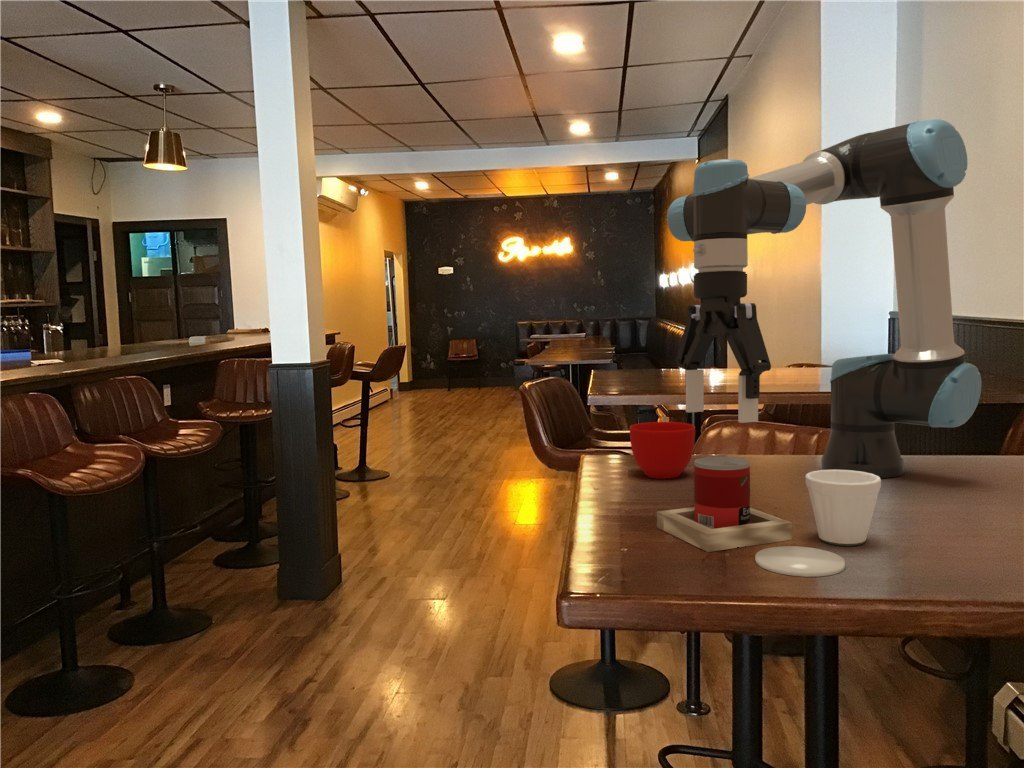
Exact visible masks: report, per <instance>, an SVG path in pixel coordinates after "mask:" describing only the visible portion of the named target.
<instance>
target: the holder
mask: <svg viewBox="0 0 1024 768" xmlns="http://www.w3.org/2000/svg"><path fill="white" fill-rule="evenodd" d="M656 528H657V529H659V530H661V531H662V532H663V531H664V532H665V533H668V534H670V535H672V536H674V537H676V538H678V539H679V540H682V541H684V542H686V543H689V544H690V545H693V546H694V547H697V548H699V549H700V550H703V551H704V552H706V553H710V552H711V553H712V552H718V551H723V550H731V549H738V548H737V547H739V548H745V546H746V547H753V546H760V545H765V544H773V543H780V542H786V541H792V540H793V522H792V521H788V520H785V519H783V518H781V517H780V518H779V517H777V516H774V515H772V514H768V513H766V512H763V511H760V510H758V509H755V508H753V507H750V524H746V525H738V526H731V527H724V528H716V529H711V528H708V527H706V526H704V525H701V524H699V523H697V522H695V506H692V507H683V508H674V509H668V510H667V509H666V510H659V511H656Z"/></svg>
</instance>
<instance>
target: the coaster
mask: <svg viewBox="0 0 1024 768" xmlns="http://www.w3.org/2000/svg"><path fill="white" fill-rule="evenodd" d="M754 558H755V564H756V565H757V566H759V567H760V568H762V569H764V570H766V571H769V572H773V573H775V574H779V575H780V574H781V575H785V576H793V577H807V578H809V577H810V578H811V577H812V578H814V577H815V578H817V577H820V578H821V577H828V576H834V575H837V574H840V573H842V572H843V571H844V570H845V568H846V566H845V565H846V561H845V559H844V558H843V557H841V556H840V555H838V554H837V553H834V552H832V551H827V550H825V549H820V548H814V547H806V546H798V545H797V546H796V545H795V546H794V545H792V546H790V545H788V546H787V545H786V546H785V545H783V546H773V547H767V548H763V549H761V550H758V551H757V552H756V553H755V556H754Z"/></svg>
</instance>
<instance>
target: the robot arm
mask: <svg viewBox="0 0 1024 768" xmlns="http://www.w3.org/2000/svg"><path fill="white" fill-rule="evenodd" d="M967 170H968V152H967V148H966V145H965V142H964V139H963V138H962V136H961V134H960V132H959V131H958V130H957V129H956V127H955V126H954V125H953V124H952V123H950V122H949V121H946V120H944V119H940V118H937V119H928V120H927V119H926V120H921V121H920V120H917V121H915V122H914V121H913V122H910V123H907V124H902V125H899V126H894V127H891V128H889V127H888V128H884V129H882V130H877V131H873V132H867V133H861V134H858V135H855V136H853V137H851V138H848V139H846V140H842V141H840V142H838V143H836V144H833V145H831V146H829V147H826V148H824V149H821V150H818V151H815V152H813V153H811V154H809V155H807V156H806V157H805V158H804V159H803V160H802V161H800V162H799V163H795V164H792V165H788V166H784V167H782V168H779V169H778V168H777V169H774V170H771V171H768V172H766V173H765V172H764V173H762V174H758V175H755V176H752V177H750V175H749V171H748V165H747V162H745V161H743V160H742V159H736V158H735V159H734V158H724V159H722V158H720V159H713V160H708V161H704V162H701V163H700V164H698V165H697V166H696V167H695V169H694V173H693V188H692V192H691V193H692V194H686V195H685V196H680V197H677V198H676V199H675V200H673V201H672V203H671V204H670V206H669V207H668V209H667V214H666V221H667V222H666V223H667V226H668V230H669V232H670V234H671V235H672V236H673V237H674V238H675V239H677V240H678V241H680V242H694V243H693V244H694V245H693V251H692V252H693V268H694V269H696V270H697V271H698V272H695V273H694V275H693V297H694V298H695V299H699V300H700V304H690V305H688V306H687V314H686V322H685V326H684V329H683V333H682V337H681V341H680V345H679V349H678V352H677V355H676V364H677V365H681V366H682V369H683V370H685V374H684V376H685V381H684V382H685V384H684V385H685V412H686V413H699V412H700V413H701V412H705V411H704V410H705V409H704V407H705V405H704V404H705V402H704V400H705V399H704V398H705V397H704V395H705V393H704V392H705V390H704V389H705V387H704V386H705V384H704V383H705V379H704V377H705V371H704V368H705V367H704V365H703V362H704V360H705V357H706V355H707V353H708V351H709V350H710V347H711V345H712V343H713V342H714V340H715V338H716V337H718V336H721V337H722V338H723V339H726V341H727V344H728V345H729V348H730V350H731V351H732V354H733V355H734V358H735V360H736V362H737V365H738V366H739V368H740V371H739V373H738V378H737V379H738V382H737V384H738V392H737V393H738V395H737V397H738V398H737V399H738V403H737V404H738V405H737V407H738V409H737V410H738V412H737V413H738V414H737V417H738V419H737V420H738V423H741V424H744V423H746V424H747V423H758V422H759V399H760V394H761V391H760V389H761V386H760V384H761V379H760V377H761V375H762V374H763V373H764V372H769V371H770V370H771V369H772V364H771V361H770V357H769V354H768V350H767V347H766V343H765V341H764V338H763V334H762V331H761V328H760V325H759V321H758V313H757V304H756V303H755V302H753V303H752V302H750V303H749V302H747V303H746V302H741V299H742V298H745V297H746V296H747V295H748V273H747V272H746V271H744V269H745V268H747V267H748V262H749V261H748V258H749V257H748V255H749V254H748V235H753V234H755V235H756V234H764V233H770V234H772V235H776V234H785V233H790V232H793V231H794V230H796V229H797V228H798V227H799V226H800V225H801V224H802V222H803V220H804V218H805V215H806V213H807V206H808V205H811V204H816V205H828V204H830V203H833V202H838V201H839V202H841V201H847V200H848V201H850V200H863V199H874V198H875V199H876V198H879V203H880V205H879V206H880V209H881V210H883V211H884V212H886V213H887V214H888V215H889V216H890V224H891V225H890V226H891V236H892V250H893V262H894V264H893V265H894V277H895V287H896V299H897V310H898V324H899V325H898V326H899V335H900V336H899V337H900V347H899V349H898V350H896V352H895V353H884V354H883V353H882V354H873V355H864V356H854V357H846V358H839V359H836V360H835V361H834V362H833V363H832V364H831V365H832V366H831V375H830V379H829V383H830V434H829V437H828V440H827V442H826V446H825V450H824V454H823V455H822V457H821V460H820V461H821V465H820V466H821V469H820V470H853V471H861V472H866V473H871V474H874V475H877V476H879V477H880V479H887V478H895V477H899V476H903V475H904V474H905V461H904V459H903V458H902V457H901V451H900V448H899V444H898V441H897V437H896V434H895V431H896V430H895V426H896V424H895V423H898V424H899V423H900V424H908V425H915V426H916V425H917V426H926V427H927V426H928V427H931V428H957V427H960V426H962V425H964V424H966V422H968V420H969V419H970V418H971V417H972V416H973V415H974V412H975V411H976V408H977V407H978V404H979V401H980V398H981V393H982V377H981V373H980V371H979V368H977V366H976V365H975V364H972V363H968V362H966V358H965V357H966V356H965V355H966V353H965V350H964V349H963V348H962V347H960V346H959V345H958V344H957V343H955V335H954V323H953V321H954V320H953V307H952V305H953V304H952V295H951V280H950V279H951V278H950V264H949V251H948V249H949V247H948V236H947V235H948V234H947V233H948V232H947V220H946V207H947V206H948V205H949V203H950V202H951V201H952V200H953V198H954V197H955V194H954V193H955V192H954V187H956V186H958V185H960V184H961V183H962V182H963V180H964V179H965V177H966V171H967Z"/></svg>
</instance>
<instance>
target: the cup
mask: <svg viewBox="0 0 1024 768" xmlns="http://www.w3.org/2000/svg"><path fill="white" fill-rule="evenodd" d="M805 485H806V487H807V490H808V494H809V498H810V503H811V507H812V511H813V515H814V520H815V524H816V529H817V533H818V538H819V540H820V541H821V542H824V543H826V544H829V545H834V546H843V547H855V546H860V545H863V544H864V543H866V541H867V538H868V534H869V530H870V526H871V523H872V519H873V515H874V511H875V508H876V505H877V501H878V496H879V493H880V490H881V487H882V478H880V477H879V476H877V475H874V474H871V473H866V472H861V471H853V470H822V469H820V470H819V469H818V470H812V471H809V472H808V473H805Z"/></svg>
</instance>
